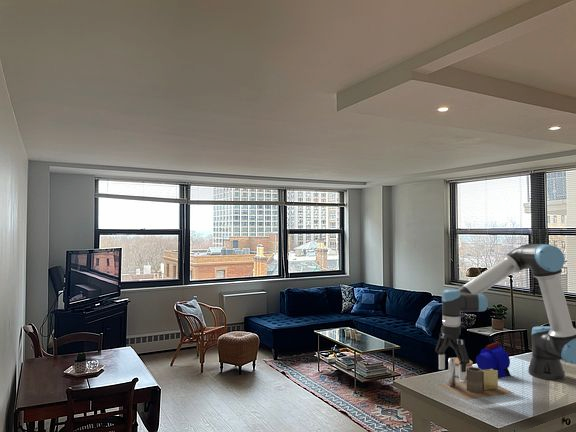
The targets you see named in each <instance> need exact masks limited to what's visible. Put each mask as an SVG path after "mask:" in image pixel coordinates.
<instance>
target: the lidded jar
mask: <svg viewBox="0 0 576 432" xmlns="http://www.w3.org/2000/svg"><path fill="white" fill-rule="evenodd" d="M454 358H455V377H456V378H459V363H460V361H459V359H458V357H454ZM462 361H463V360H462ZM466 361H467V360H466ZM469 361H470V363H469V364H466V372H465V378H467V367H473V363H474V362H473V361H472V360H471V359H469Z"/></svg>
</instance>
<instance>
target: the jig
mask: <svg viewBox="0 0 576 432" xmlns="http://www.w3.org/2000/svg"><path fill="white" fill-rule="evenodd" d="M491 370H494V369H488V370H482V369H480V368H478V366H477V367H476V366H472V367H467V377H466V380H462V381H461V380H460V381H456V387H449V382H446V383H438V385H439V386H441V387H442V388H445V389H447V390H448V391H451V392H452V393H454V394H456V395H458V396H459V397H461V398H463V399H465V400H473V399H480V398H488V397H495V396H503V395H511V394H514V392H512V391H511V390H509V389H507V388H504V387H502V386H500V385H498V389H491V390H483V371H491Z"/></svg>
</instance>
